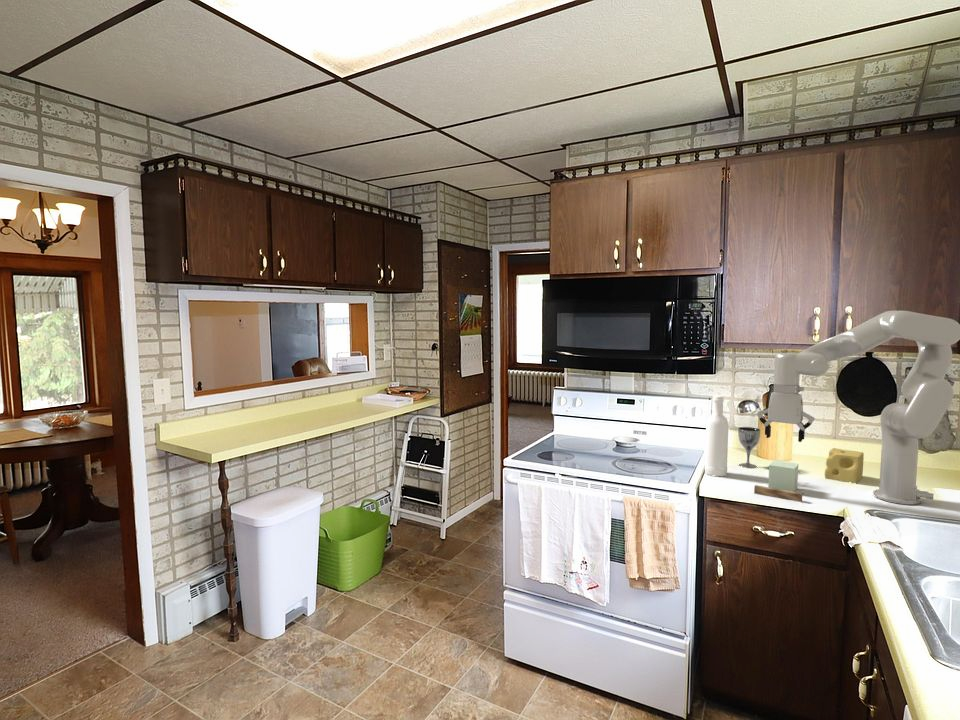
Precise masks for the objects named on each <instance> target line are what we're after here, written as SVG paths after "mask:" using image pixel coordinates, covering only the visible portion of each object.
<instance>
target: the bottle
mask: <svg viewBox="0 0 960 720" xmlns="http://www.w3.org/2000/svg"><path fill="white" fill-rule="evenodd" d="M705 427H706V428H705V452H704V453H705V458H704V459H705V460H704V473H705V474H706V475H708V474H710V475H709V476H711V475H715V476H714V477H718V476H721V477H725V475H726V476H727V475H728V450H729V449H728V447H729V422H728V419H727V417H726V416H725V415H724V396H723V395H719V394H718V395H713V396H712V414H711V415H709V416H708V417H707V419H706V425H705Z"/></svg>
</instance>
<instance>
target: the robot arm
mask: <svg viewBox="0 0 960 720" xmlns="http://www.w3.org/2000/svg"><path fill="white" fill-rule="evenodd" d="M894 338H900V339H906V340H910V341H915V342H916V345H917V347H918V354H917V358H916V359H915V362H914V364H913V365H912V367H911V369H910V371H909V373H908V374H907V376H906V377H905V379H904V381H903V383H902V385H901V388H900V391H901V395H902V396H903V397H904V398H905V399H906V400H909V401H910V402H909V404H908V403H903V402H893V403H891V404H887V405H886V406H885V407H884V408H883V410H882V411H881V413H880V421H879V422H880V429H881V450H880V451H881V452H880V468H879V488H878V489H877V488H876V489H874V490H873V492H872V493H873V494H874V495H875V496H876V497H875V496H874V495H873V496H874V497H875V498H877V497H878V498H877V499H879V498H880V499H879V500H881V499H883V500H882V501H884V500H885V501H884V502H888V503H892V504H898V505H920V504H921V502H922V498H923V499H926V500H927V499H928V500H934V498H935V497H934V496H935V495H934V493H932V492H929V491H925V490H924V491H923V490H920V489H918V485H917V478H918V477H917V476H918V475H917V474H918V473H917V472H918V459H919V440H918V439H920V440H921V439H924V438H926V437H929V436H930V435H932V433H933V432H934V431H935V430H936V429H937V427H938V425H939V424H940V422H941V420H942V419H943V416H945V413H946V412H947V410H948V408H949V407H950V405H951V403H952V401H953V399H954V389H953V385H952V384H951V383H950V382H949V380H947V379H945V377H946V375H947V373H948V370H949V369H950V367H951V366H952V365H951V364H952V363H953V362H952V361H953V350H952V347H951V346H953V345H954V344H956V343H957V342H959V341H960V323H959V322H957V321H956V320H955V319H953V318H949V317H942V316H936V315H933V314H932V315H930V314H925V313H919V312H914V311H910V310H909V311H908V310H888V311H887V310H886V311H884V312H882V313H879V314H878V315H876V316H874V317H872V318H870V319H868V320H867V321H864V322H863V323H861V324H859V325H857V326H855V327H852V328H851V329H848V330H846V331H844V332H841V333H838V334H837V335H835V336H832V337H828V338H827V339H824V340H823V341H820V342H817V343H816V344H813V345H811V346H810V347H807V348H806V349H804V350H802V351H800V352H799V353H794V352H780V353H779V352H778V353H777V354H775V357H774V369H773V372H774V373H773V391H772V392H771V394H770V397H769V403H768V408H765V409H762V410H760V411H757V412H756V415H757V418H758V419H759V422H761V423H762V424H763V427H764V435H765V436H766V439H769V438H770V437H771V435H772V434H771V433H772V425H771V423H772V422H773V423H774V422H775V423H779V424H780V423H783V424H791V425H796V426H797V427H798V428H799V430H798V434H797V435H798V439H797V441H798V443H802V441H803V440H805V432H806V431H805V430H806V429H807V428H809V427H810V426H811V425H812V424H813V423H814V421H815V419H816V418H815V417H814V416H812V415H810V414H808V413H807V412H805V411H804V403H803V401H804V400H803V395H802V394H801V392H805V387H802V386H801V385H800V376H801V375H805V376H811V377H819V376H822V375H824V374H826V373H827V372H828V371H829V368H830V362H833V361H836V360H839V359H842V358H846V357H847V358H848V357H853V356H858V355H861V354H864V353H867V352H868V351H870V350H873V349H874V348H876V347H878V346H880V345H882V344H884V343H886V342H888V341H890V340H892V339H894ZM766 414H767V419H766V418H765V417H764V415H766ZM804 418H805V419H807V422H806V423H805V424H804V422H803V420H804Z"/></svg>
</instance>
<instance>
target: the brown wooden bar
mask: <svg viewBox="0 0 960 720" xmlns="http://www.w3.org/2000/svg"><path fill="white" fill-rule="evenodd" d="M753 493H754V494H756V495H761V496H766V497H771V498H777V499H781V500H782V499H783V500H787V501H793V502H798V503H802V502H803V493H802V492H797V491H796V492H792V491H787V490H781V489H775V488H769V487H768V486H763V485H757V484H754V492H753Z"/></svg>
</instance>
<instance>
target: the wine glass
mask: <svg viewBox="0 0 960 720" xmlns="http://www.w3.org/2000/svg"><path fill="white" fill-rule="evenodd" d="M737 431H738V432H737V433H738V434H737V436H738V441H739V443H740V445H741V446H742V447H743V448H744V449H745V452H746V462H741V464H740V463H738V464H739V465H738V467H741V466H742V467H741V468H744V467H746V468H745V469H757V468H758V467H757V466H758V465H757V464H755V463H751V462H750V457H751V453H752V450H753V449H755V447H757V445H758V444H759V442H760V438H761V429H760V428H757V427H751V426H741V427H738V430H737ZM756 465H757V466H756ZM756 467H757V468H756Z"/></svg>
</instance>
